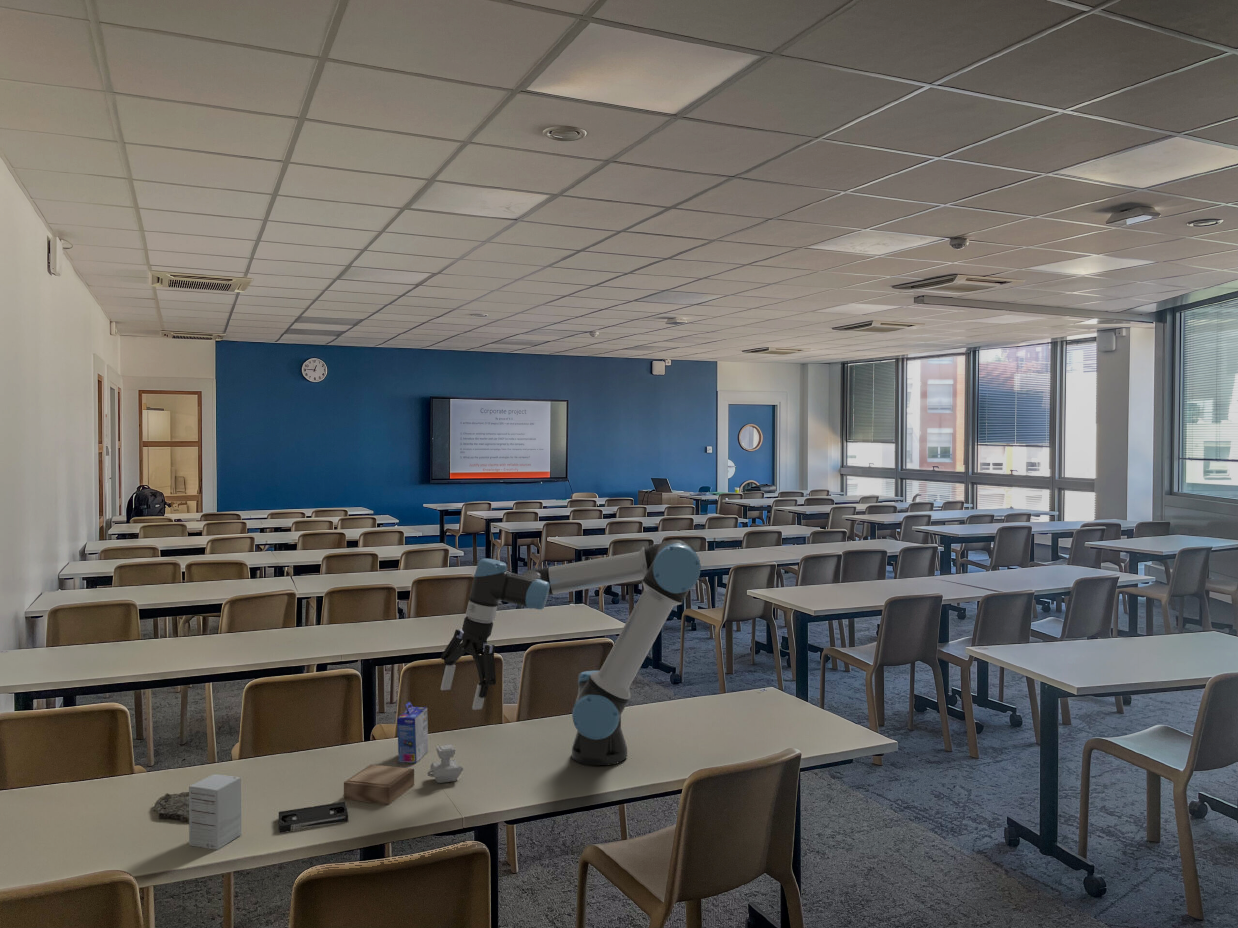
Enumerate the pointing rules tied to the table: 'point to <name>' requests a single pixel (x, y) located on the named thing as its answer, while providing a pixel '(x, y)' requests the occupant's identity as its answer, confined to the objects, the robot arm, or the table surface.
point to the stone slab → (173, 806)
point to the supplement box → (214, 811)
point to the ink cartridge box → (412, 734)
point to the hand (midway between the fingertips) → (460, 698)
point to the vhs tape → (312, 817)
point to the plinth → (379, 784)
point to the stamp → (445, 765)
